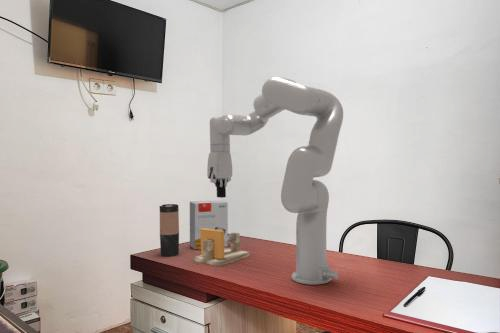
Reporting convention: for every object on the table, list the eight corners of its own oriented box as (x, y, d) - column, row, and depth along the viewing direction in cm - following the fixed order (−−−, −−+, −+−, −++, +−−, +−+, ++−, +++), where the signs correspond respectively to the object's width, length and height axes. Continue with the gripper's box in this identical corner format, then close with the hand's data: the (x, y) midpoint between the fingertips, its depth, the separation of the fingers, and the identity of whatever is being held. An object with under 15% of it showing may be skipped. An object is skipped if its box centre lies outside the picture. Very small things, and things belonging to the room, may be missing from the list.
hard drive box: (193, 250, 164) (193, 203, 163) (189, 246, 171) (188, 201, 170) (228, 246, 170) (227, 201, 169) (222, 243, 177) (222, 199, 176)
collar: (224, 257, 143) (224, 230, 143) (220, 258, 142) (220, 231, 141) (204, 254, 149) (204, 228, 149) (200, 255, 148) (200, 228, 147)
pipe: (238, 240, 156) (238, 233, 156) (209, 248, 142) (209, 241, 142) (233, 239, 157) (233, 233, 157) (204, 247, 144) (204, 240, 144)
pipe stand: (249, 255, 153) (249, 234, 153) (219, 266, 139) (219, 243, 139) (224, 251, 161) (224, 231, 161) (193, 261, 147) (193, 238, 146)
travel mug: (182, 254, 156) (181, 205, 156) (164, 257, 152) (163, 206, 152) (174, 251, 163) (174, 203, 162) (157, 253, 158) (156, 205, 158)
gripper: (225, 149, 157) (226, 195, 157) (199, 149, 145) (200, 198, 145) (239, 149, 152) (240, 195, 153) (214, 148, 140) (215, 199, 141)
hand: (221, 197), depth 149 cm, fingers closed
